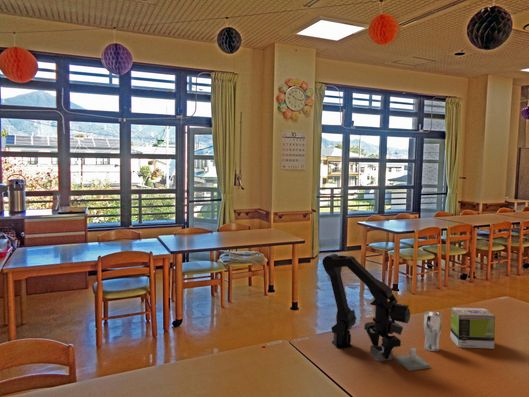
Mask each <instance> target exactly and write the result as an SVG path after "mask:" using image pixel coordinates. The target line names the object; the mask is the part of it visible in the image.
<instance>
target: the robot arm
mask: <svg viewBox="0 0 529 397" xmlns="http://www.w3.org/2000/svg"><path fill="white" fill-rule="evenodd" d="M321 264H322V266H323V269H324V271H325V273H326V274H327V276H328V277H329V279H330V284H331V288H332V292H333V297H334V301H335V304H336V316H335V320H336V323H335V324H334V325H332V327H331V332H332V333H333V340H332V341H331V343H332V344H333V345H334V347H336V348H337V349H342V348H343V349H344V348H351V347H352V344H351V342H352V334H351V329H352V327H354V326H355V325H356V322H357V321H356V320H357V316H356V313H355V310H354V309H351V308H350V306H349V304H348V299H347V295H346V292H345V286H344V283H343V278H342V274H341V272H342V268H343V267H345V268H346V267H347V268H348V269H349V270H350V271H351V273H353V275H355V276H356V277H357V278H358V279H359V280H360V281H361V282H363V284H364V285H365V286H366V287H367V288H368V290H369V293H370V294H371V296H372V297H373V301H371V302H370V303H369V305H371V306H374V308H375V309H374V311H375V312H374V317H372V321H371V322H370V321H368V322H365V323H364V331H366V333H367V335H368V338H369V339H370V342H371V344H372V345H371V346H374V345H379V343H380V342H379V340H380V337H382V338H381V343H380V345H381V346H382V350H383V354H384V357H385V359H388V358H389V355H390V353H391V351H393V348H398V347H401V346H402V344H401V342H402V341H401V339H400V338H398V337H397V336H396V335H393V334H398V335H399V336H401V335H402V332H403V329H404V327H403V326H402V325H401V324H399V323H397V322H400V323H403V324H409V322H410V320H411V311H410V308H409V305H407V304H401V303H399V302H398V300H397V299H396V296H395V295H394V293H393V289H392V288H391V287H390V286H389V285H388V284H386V283H385V282H383V281H382V280H379V279H377V278H376V277H374V275H373V274H372V273H370V271H369V270H368V269H367V268H365V267H364V266H363V265H362V264H361V262H359V261H358V260H357V259H356V257H354V256H353V255H349V256H348V255H339V254H337V253H332V254H329V255H327V256H324V257H323V259H322V263H321ZM389 334H390V335H389Z"/></svg>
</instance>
